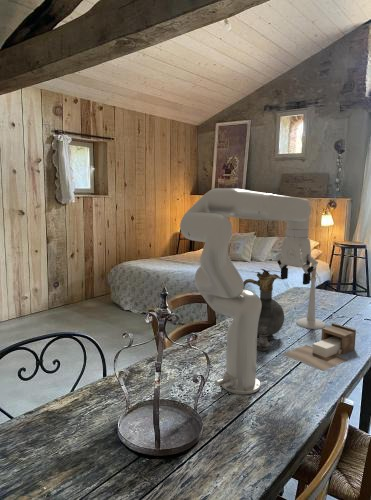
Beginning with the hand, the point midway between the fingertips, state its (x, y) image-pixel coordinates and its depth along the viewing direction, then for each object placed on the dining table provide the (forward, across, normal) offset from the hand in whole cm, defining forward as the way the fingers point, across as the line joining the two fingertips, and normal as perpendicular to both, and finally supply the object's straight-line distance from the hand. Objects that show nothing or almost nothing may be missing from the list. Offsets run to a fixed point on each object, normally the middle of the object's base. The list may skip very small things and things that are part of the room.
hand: (294, 281), depth 145 cm
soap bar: (+29, +4, +19) cm, 35 cm away
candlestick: (+31, -21, +41) cm, 55 cm away
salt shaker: (+31, -12, -2) cm, 33 cm away
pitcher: (+31, -24, +10) cm, 40 cm away
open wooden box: (+30, +4, +14) cm, 34 cm away
